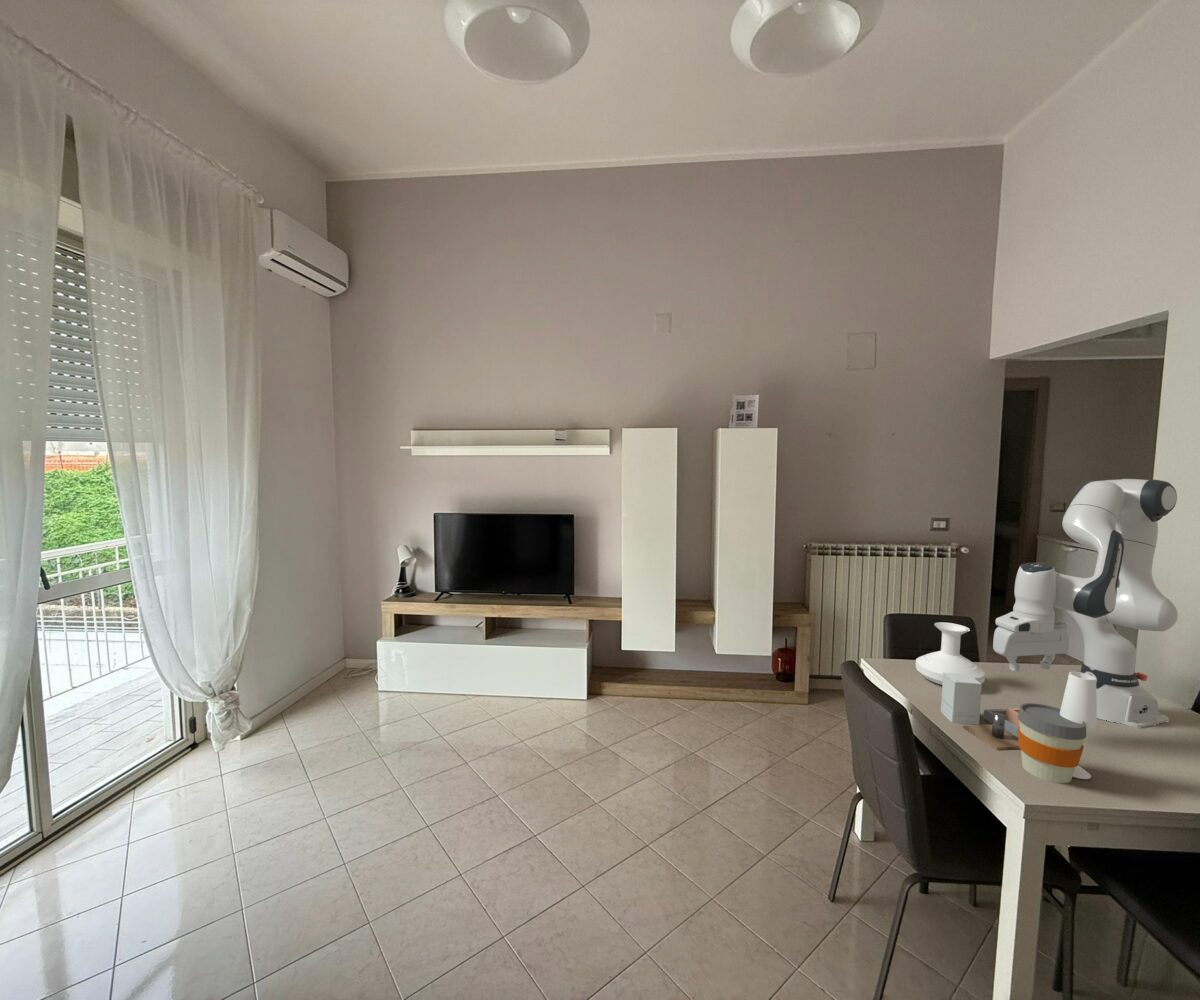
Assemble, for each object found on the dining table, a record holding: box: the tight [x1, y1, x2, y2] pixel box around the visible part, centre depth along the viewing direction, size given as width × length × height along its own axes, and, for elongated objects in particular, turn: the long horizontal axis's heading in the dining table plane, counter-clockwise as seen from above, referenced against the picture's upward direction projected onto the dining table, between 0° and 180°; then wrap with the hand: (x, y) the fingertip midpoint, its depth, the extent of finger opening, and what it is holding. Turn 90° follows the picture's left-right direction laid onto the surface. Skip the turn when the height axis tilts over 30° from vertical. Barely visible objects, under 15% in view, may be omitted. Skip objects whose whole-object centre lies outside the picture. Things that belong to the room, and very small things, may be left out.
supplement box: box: [940, 672, 983, 725], centre depth 151 cm, size 7×7×13 cm
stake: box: [991, 712, 1005, 739], centre depth 139 cm, size 3×3×6 cm
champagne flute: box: [1059, 671, 1098, 780], centre depth 124 cm, size 7×7×24 cm
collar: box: [1005, 707, 1020, 727], centre depth 145 cm, size 6×8×4 cm
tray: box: [983, 708, 1018, 737], centre depth 145 cm, size 12×12×3 cm
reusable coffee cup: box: [1018, 702, 1087, 784], centre depth 124 cm, size 13×13×15 cm
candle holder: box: [915, 621, 986, 686], centre depth 177 cm, size 20×20×19 cm
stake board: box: [962, 723, 1021, 751], centre depth 140 cm, size 10×11×1 cm
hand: (1029, 669), depth 143 cm, fingers open, 8 cm apart
